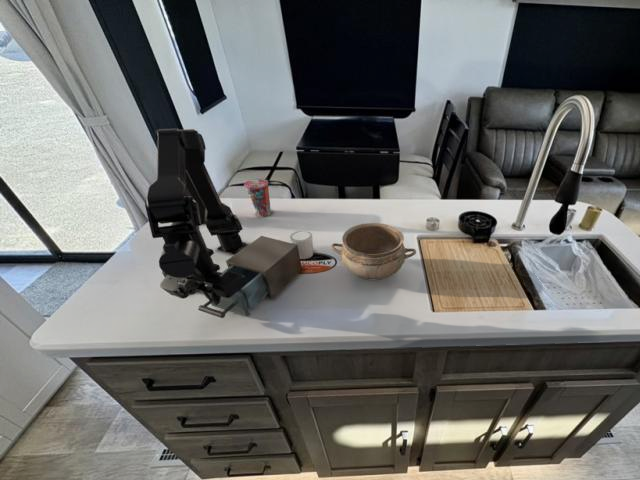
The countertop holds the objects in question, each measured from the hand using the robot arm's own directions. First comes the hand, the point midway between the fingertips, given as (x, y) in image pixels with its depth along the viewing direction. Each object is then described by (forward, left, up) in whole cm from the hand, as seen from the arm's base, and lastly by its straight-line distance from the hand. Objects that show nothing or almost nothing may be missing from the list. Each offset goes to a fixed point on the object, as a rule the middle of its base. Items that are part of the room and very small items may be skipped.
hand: (216, 304), depth 79 cm
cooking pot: (+27, +34, -6) cm, 44 cm away
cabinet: (0, +19, -5) cm, 19 cm away
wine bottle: (-46, +39, -6) cm, 60 cm away
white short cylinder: (+2, +34, -6) cm, 34 cm away
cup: (-28, +52, -6) cm, 59 cm away
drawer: (0, +6, -4) cm, 8 cm away
